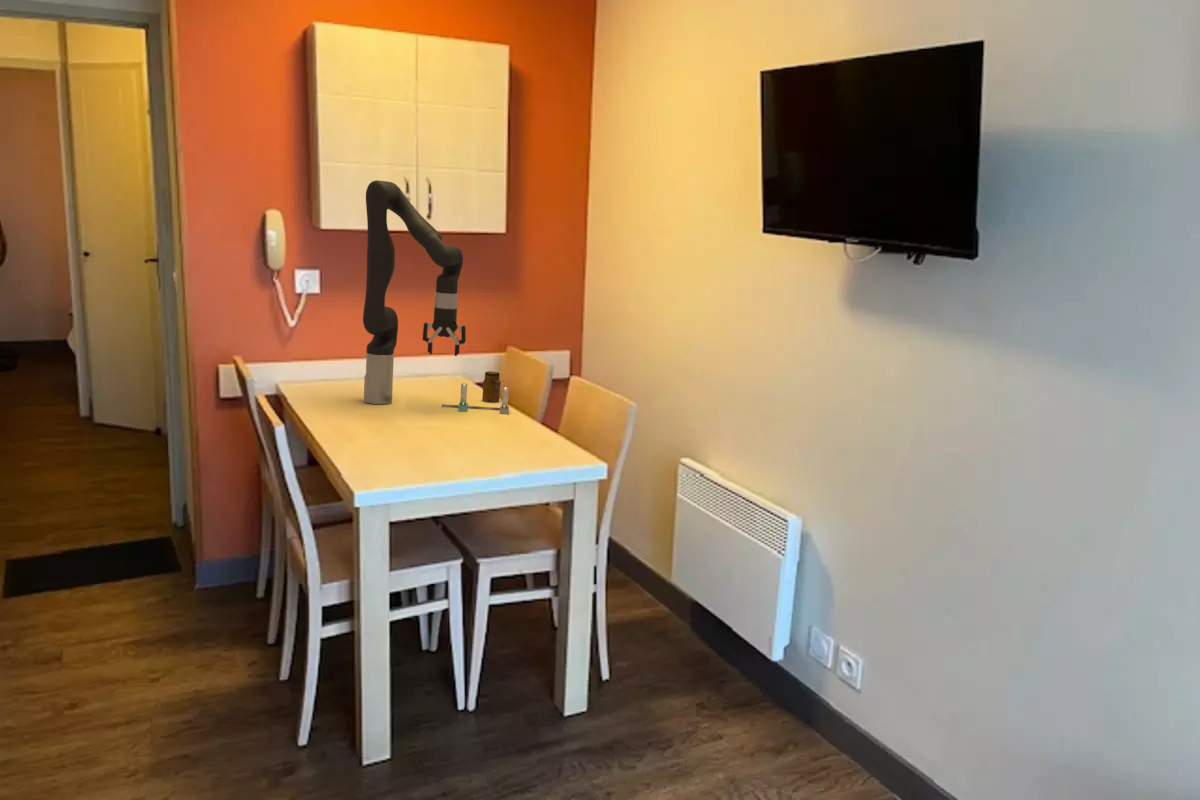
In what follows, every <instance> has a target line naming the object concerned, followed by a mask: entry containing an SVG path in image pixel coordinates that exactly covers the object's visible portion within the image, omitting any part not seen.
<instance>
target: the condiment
mask: <svg viewBox="0 0 1200 800" xmlns="http://www.w3.org/2000/svg"><path fill="white" fill-rule="evenodd" d="M500 379H501V378H500V372H498V371H490V370H489V371H488V370H487V371H485V372H484V379H483V382H482V383H483V384H482V396H481V397H482V399H481V401H482V402H484V403H489V404H494V403H500V395H501V380H500Z"/></svg>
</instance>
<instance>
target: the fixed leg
mask: <svg viewBox="0 0 1200 800" xmlns="http://www.w3.org/2000/svg"><path fill="white" fill-rule="evenodd" d="M509 390H510V389H509V387H508V386H503V387H502V395H501V405H500V406H499V408H500V410H499V415H509V413H510V406H508V404H509Z"/></svg>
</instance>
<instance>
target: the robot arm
mask: <svg viewBox="0 0 1200 800" xmlns="http://www.w3.org/2000/svg"><path fill="white" fill-rule="evenodd" d="M365 207H366V208H365V209H366V218H367V219H366V220H367V222H366V223H367V243H366V244H367V245H366V246H367V248H366V283H365V286H366V287H365V298H364V306H363V313H362V323H363V326H364V329H365V331H366V332H367V333H368V334H369V335H373V337H372V339H371V340H370V342H369V343H368V344H367V345H366V353H365V354H366V356H365V357H366V358H365V360H366V361H365V363H366V364H365V375H364V381H363V382H364V384H363V386H364V387H363V403H366V404H371V405H389V404H392V403H393V390H394V389H393V388H394V387H393V383H394V358H395V355H394V354H395V348H396V346H397V342H398V341H397V340H398V332H399V331H398V329H399V319H398V315H397V312H396V310H394V309H393V308H392V307H390V306H386V305H385V304H386V292H387V290H388V287H389V285H390V282H391V279H393V274H394V271H395V267H396V266H395V264H396V263H395V262H396V260H395V259H396V249H395V245H394V242H393V239H392V236H391V234H390V231H389V227H388V220H387V219H388V217H387V216H388V210H389V211H391V212H392V213H394V214H395V215H397V216H398V217H399V218H400V219H401V220H402V222H403V223H404V225H405V227H406V228H407V231H408V232H409V234H410V235H411V236H412V237H413V238H414V240H415V241H416V242H417V243H418V244H420V246H422V247H423V248H424V249H425V252H426V253H427V254H428V256H429V258H430V259H431V260H432V261H433V262H434V264H436V265H437V266H438V267H441V268H442V272H441V273H440V274H439V275H438V276H437V277H436V283H435V296H434V307H433V310H434V311H433V320H432V321H433V322H432V323H429V322H424V323H423V328H422V329H423V330H422V341H424V342H426V343H427V353H429V355H432V354H433V347H434V343H433V341H434V340H435V338H436V337H437V336H438V337H439V338H442V337H446V338H450V337H451V339H452V340H453V342H454V344H455V345H454V357H457V356H458V355H459V354H460V345H463V344H465V343H466V335H467V334H466V333H467V332H466V331H467V328H466V325H465V324H463V325H458V324H457V322H458V321H457V318H458V307H459V306H458V303H459V302H458V285H459V284H458V282H459V278H460V275H461V271H462V267H463V264H464V256H463V255H464V254H463V252H462V250H461V248H459V246H456V245H446V244H445V243H444V242H443V241H442V240H443V238H442V235H441V233H440V232H439V231H437V229H436V228H435V227H434V226H433V225H432V224H430V223H429V222H428V220H426V219H425V218H424V216H423V215H421V214H420V213H419V211H418V210H417V209H416V208H415V207H414V205H413V204H412V203H411V201H410V200H409V199H408V197H407V196H406V194H404V192H403V191H402V189H401V188H400V186H398V185H397V184H396V183H394V182H392V181H386V180H373V181H371V182H370V183H369V184H368V185H367V188H366V191H365ZM431 327H432V330H433V331H434V333H433V334H432V335H431V336H430V337H428V331H429V330H430V328H431ZM457 330H459V332H460V333H461V336H460V337H461V338H460V339H459V338H458V336H457V335H456V331H457Z"/></svg>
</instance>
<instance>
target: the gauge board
mask: <svg viewBox="0 0 1200 800" xmlns="http://www.w3.org/2000/svg"><path fill="white" fill-rule="evenodd" d="M458 405H459V404H447V403H446V404H445V403H441V408H455V409H458ZM468 409H471V410H486V411H487V410H488V411H500V407H497V406H496V407H495V406H494V407H492V406H480V405H479V406H475V405H468Z"/></svg>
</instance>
